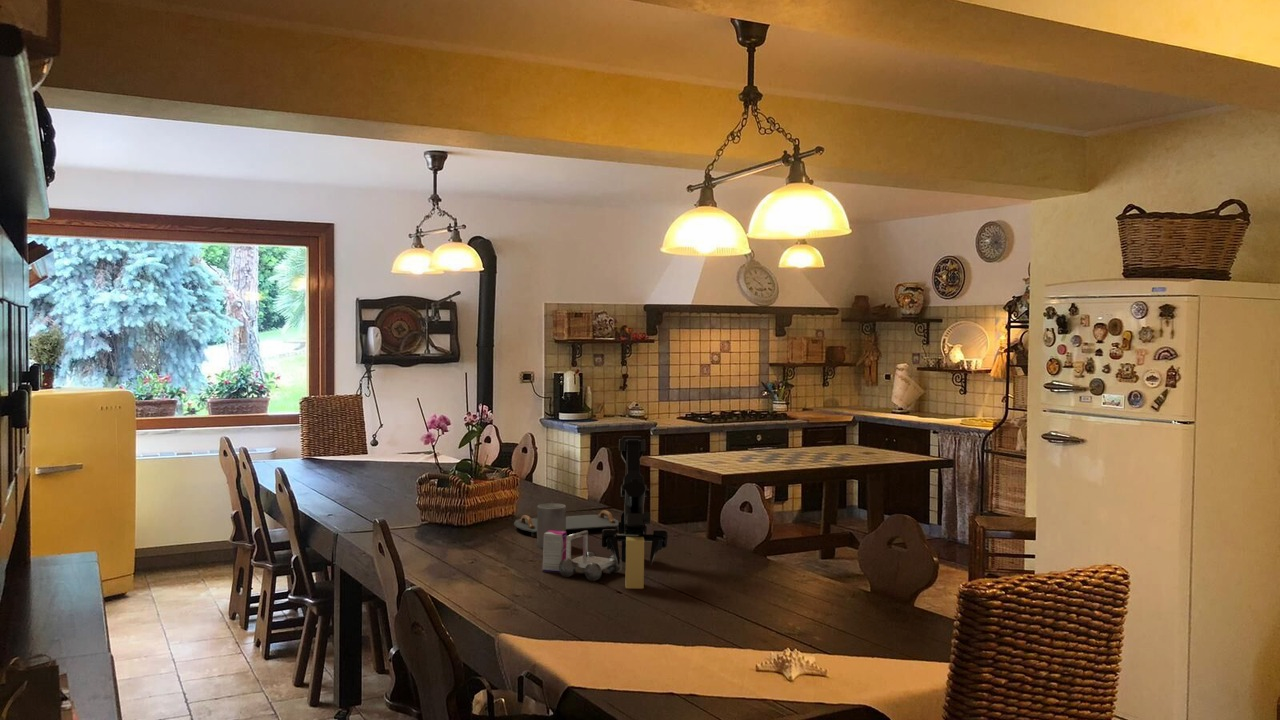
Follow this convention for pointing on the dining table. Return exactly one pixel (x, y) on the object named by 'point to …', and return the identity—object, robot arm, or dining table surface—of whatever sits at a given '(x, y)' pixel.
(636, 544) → the tall yellow block
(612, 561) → the trolley
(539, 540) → the pillar candle
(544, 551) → the supplement box
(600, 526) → the serving board
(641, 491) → the robot arm
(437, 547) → the dining table surface
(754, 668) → the dining table surface
